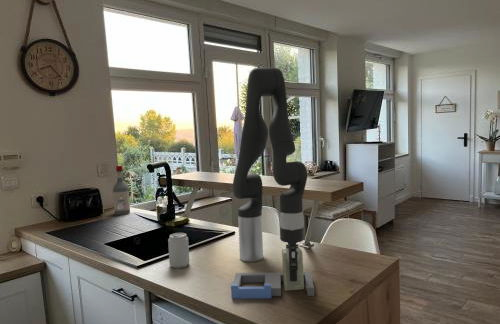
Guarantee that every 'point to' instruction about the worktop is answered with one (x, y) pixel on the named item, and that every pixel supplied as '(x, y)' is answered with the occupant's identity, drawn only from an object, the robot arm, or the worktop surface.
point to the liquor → (121, 194)
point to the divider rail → (270, 286)
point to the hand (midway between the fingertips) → (293, 276)
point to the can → (178, 250)
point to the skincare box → (286, 272)
